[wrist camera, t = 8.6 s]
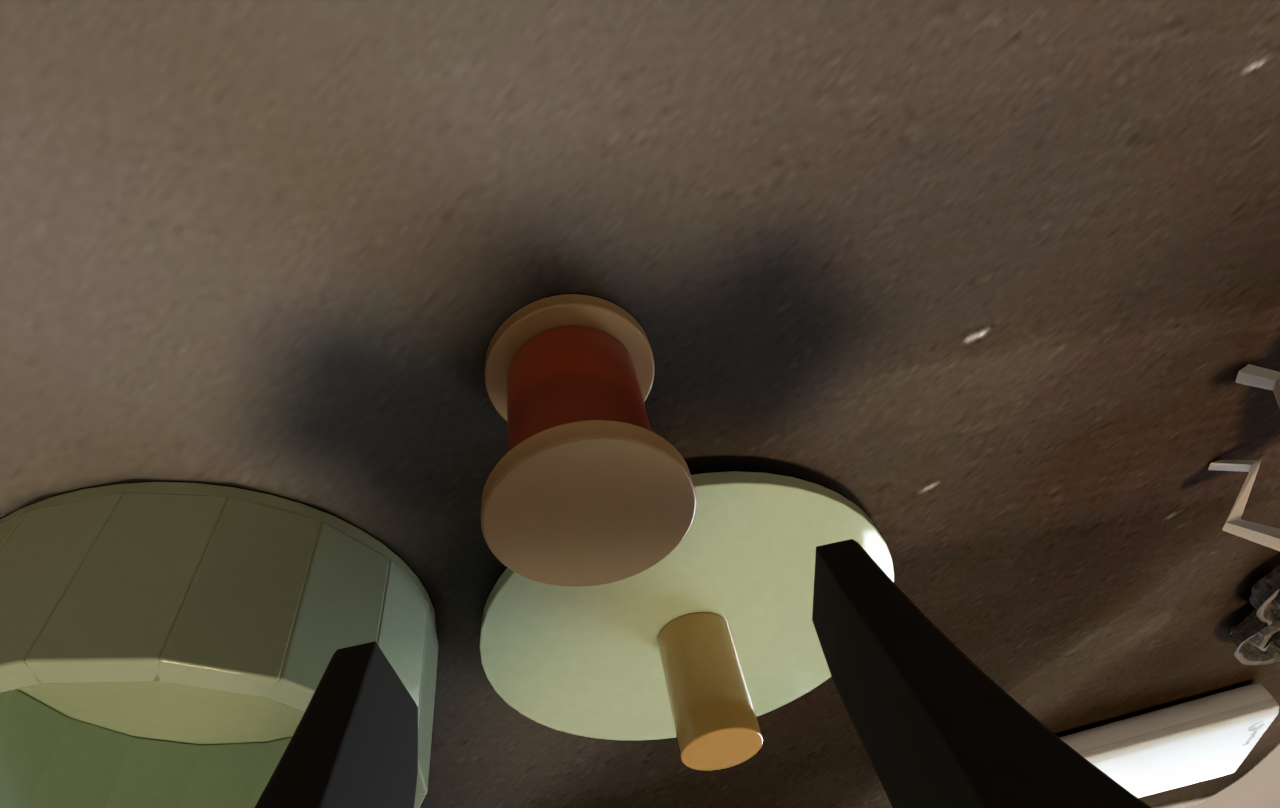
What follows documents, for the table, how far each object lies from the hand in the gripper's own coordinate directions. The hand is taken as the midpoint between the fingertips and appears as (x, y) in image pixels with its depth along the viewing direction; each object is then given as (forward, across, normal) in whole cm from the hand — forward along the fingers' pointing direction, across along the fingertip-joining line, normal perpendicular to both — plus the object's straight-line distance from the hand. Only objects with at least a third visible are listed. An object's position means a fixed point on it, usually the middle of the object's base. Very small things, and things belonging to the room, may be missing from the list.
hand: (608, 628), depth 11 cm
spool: (+7, 0, 0) cm, 7 cm away
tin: (+7, +12, +7) cm, 15 cm away
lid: (+6, -2, +10) cm, 12 cm away
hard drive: (+7, -24, +31) cm, 40 cm away
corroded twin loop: (+7, -28, +18) cm, 34 cm away
